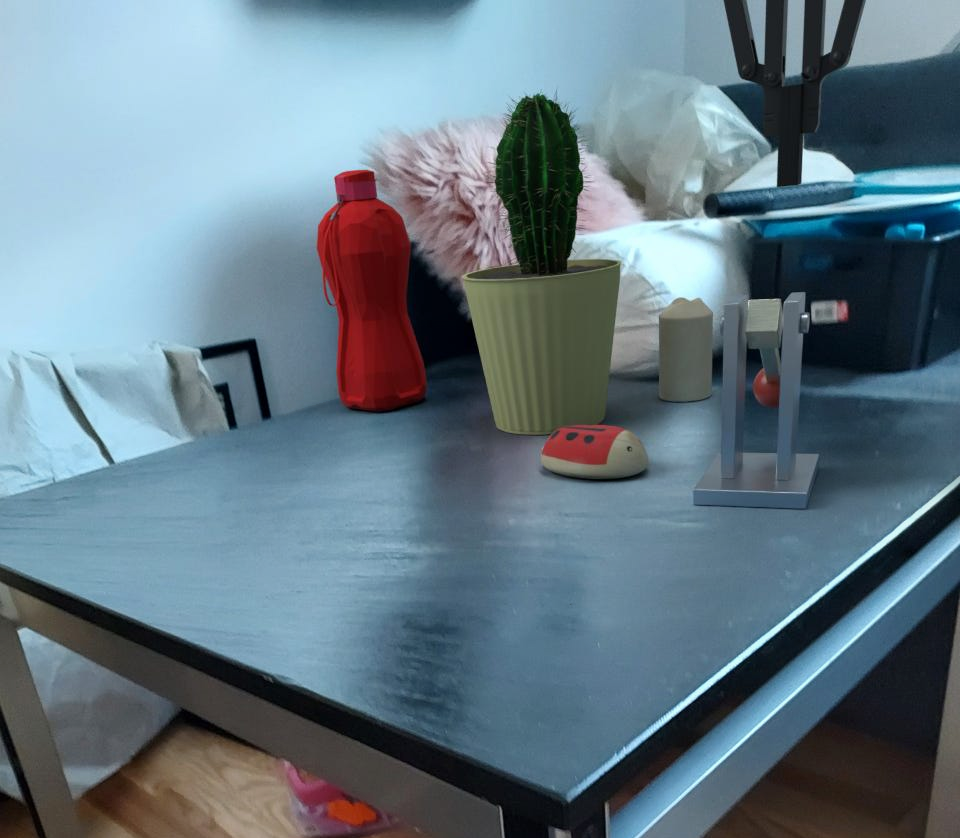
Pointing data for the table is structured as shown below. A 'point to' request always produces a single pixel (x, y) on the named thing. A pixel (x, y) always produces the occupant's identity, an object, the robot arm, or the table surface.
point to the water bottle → (370, 297)
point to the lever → (766, 347)
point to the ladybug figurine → (594, 452)
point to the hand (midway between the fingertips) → (789, 185)
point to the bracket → (731, 470)
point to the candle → (685, 351)
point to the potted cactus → (543, 285)
